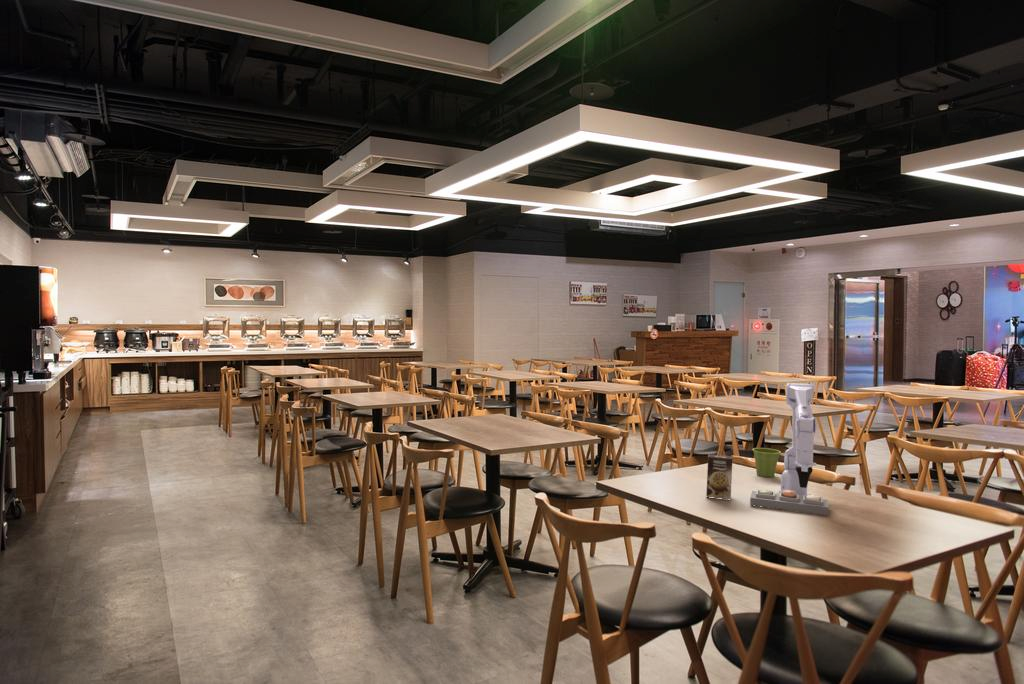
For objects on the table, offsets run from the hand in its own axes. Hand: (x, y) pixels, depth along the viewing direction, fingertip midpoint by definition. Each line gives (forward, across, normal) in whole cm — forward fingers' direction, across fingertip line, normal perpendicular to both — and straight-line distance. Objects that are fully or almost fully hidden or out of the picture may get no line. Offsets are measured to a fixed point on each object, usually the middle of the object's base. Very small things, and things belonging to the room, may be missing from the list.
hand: (803, 487), depth 232 cm
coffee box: (+8, +1, +29) cm, 31 cm away
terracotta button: (+4, 0, +5) cm, 6 cm away
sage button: (+5, 0, +13) cm, 14 cm away
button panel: (+8, 0, +5) cm, 9 cm away
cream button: (+5, 0, -3) cm, 6 cm away
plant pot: (+8, +48, +14) cm, 51 cm away
